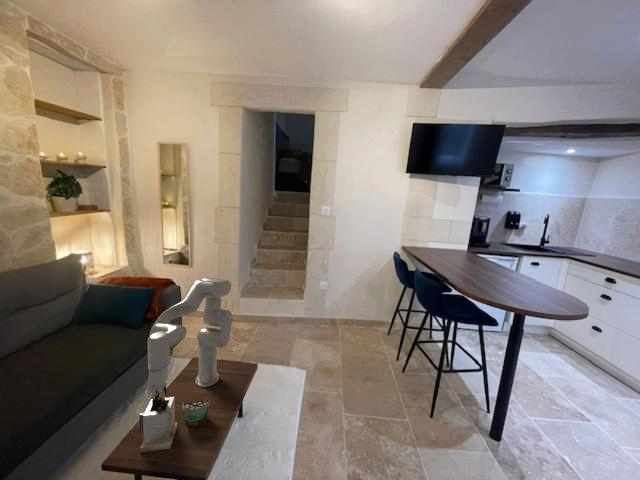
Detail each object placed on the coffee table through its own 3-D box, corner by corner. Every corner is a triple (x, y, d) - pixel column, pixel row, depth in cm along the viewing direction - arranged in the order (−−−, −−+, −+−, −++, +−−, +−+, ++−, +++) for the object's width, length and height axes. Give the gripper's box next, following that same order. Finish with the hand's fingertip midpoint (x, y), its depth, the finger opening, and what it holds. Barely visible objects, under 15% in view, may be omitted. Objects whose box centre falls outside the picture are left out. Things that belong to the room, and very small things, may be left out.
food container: (179, 432, 117) (179, 412, 115) (182, 420, 123) (182, 401, 121) (208, 427, 120) (209, 408, 119) (210, 416, 126) (210, 398, 124)
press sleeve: (145, 427, 115) (144, 399, 113) (174, 424, 118) (174, 396, 116) (135, 446, 107) (135, 416, 104) (168, 442, 109) (167, 413, 107)
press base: (150, 429, 117) (150, 425, 117) (177, 426, 120) (177, 422, 119) (140, 452, 106) (140, 448, 106) (170, 448, 109) (170, 444, 109)
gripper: (156, 350, 115) (157, 387, 118) (139, 376, 98) (140, 419, 101) (175, 349, 117) (175, 386, 119) (161, 375, 100) (162, 416, 103)
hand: (159, 400), depth 110 cm, fingers open, 5 cm apart
